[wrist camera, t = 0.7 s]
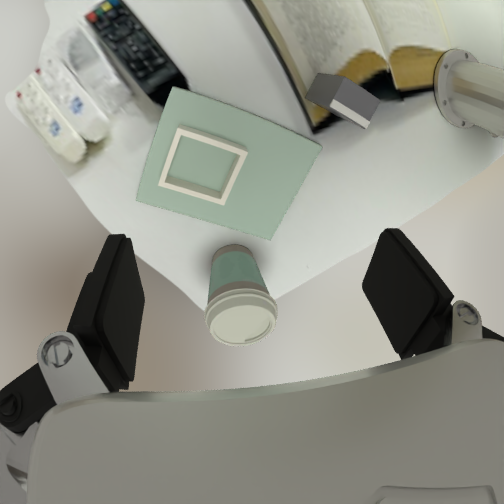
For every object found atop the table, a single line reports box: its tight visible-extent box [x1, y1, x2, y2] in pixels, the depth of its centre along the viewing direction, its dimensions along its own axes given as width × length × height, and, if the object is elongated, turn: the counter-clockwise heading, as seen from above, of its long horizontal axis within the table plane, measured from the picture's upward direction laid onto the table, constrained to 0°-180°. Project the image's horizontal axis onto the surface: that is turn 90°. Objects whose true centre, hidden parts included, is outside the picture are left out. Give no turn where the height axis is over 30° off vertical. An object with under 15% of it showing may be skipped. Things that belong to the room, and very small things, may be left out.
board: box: [136, 86, 322, 240], centre depth 32 cm, size 18×14×1 cm
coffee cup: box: [204, 245, 277, 346], centre depth 36 cm, size 9×8×12 cm
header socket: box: [158, 124, 248, 206], centre depth 29 cm, size 8×7×2 cm
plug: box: [305, 73, 380, 129], centre depth 25 cm, size 4×4×7 cm
